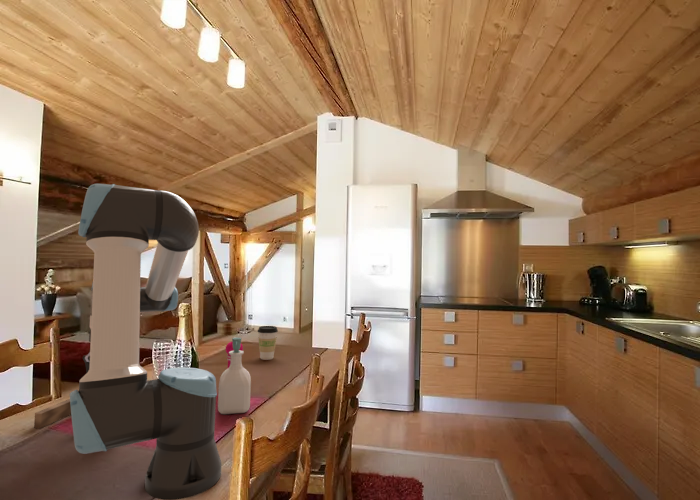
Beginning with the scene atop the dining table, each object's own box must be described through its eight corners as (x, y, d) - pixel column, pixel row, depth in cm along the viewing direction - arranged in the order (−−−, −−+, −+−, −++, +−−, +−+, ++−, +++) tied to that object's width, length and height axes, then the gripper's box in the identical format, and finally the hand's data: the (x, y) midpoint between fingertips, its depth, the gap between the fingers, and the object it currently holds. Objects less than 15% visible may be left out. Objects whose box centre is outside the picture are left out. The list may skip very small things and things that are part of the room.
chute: (89, 433, 101) (90, 413, 101) (34, 427, 104) (35, 408, 104) (135, 407, 119) (136, 391, 119) (87, 403, 121) (88, 387, 122)
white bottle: (217, 416, 114) (220, 341, 115) (219, 405, 124) (222, 335, 124) (249, 414, 117) (252, 340, 118) (249, 402, 126) (252, 334, 127)
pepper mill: (236, 397, 131) (239, 339, 131) (218, 395, 132) (220, 338, 133) (246, 390, 138) (248, 335, 138) (228, 388, 139) (230, 334, 140)
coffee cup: (252, 359, 181) (253, 328, 181) (263, 354, 190) (264, 325, 191) (270, 361, 178) (271, 329, 178) (280, 356, 187) (281, 326, 188)
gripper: (98, 333, 110) (94, 414, 109) (130, 325, 123) (126, 399, 122) (75, 331, 111) (70, 412, 110) (109, 324, 123) (105, 397, 123)
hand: (100, 405), depth 116 cm, fingers closed
